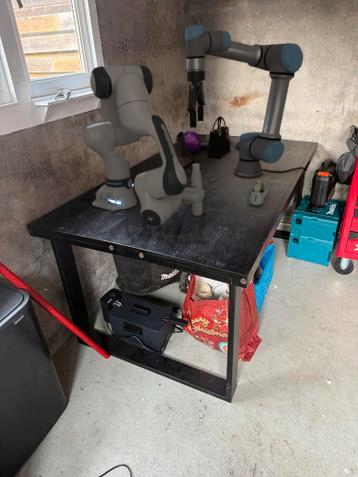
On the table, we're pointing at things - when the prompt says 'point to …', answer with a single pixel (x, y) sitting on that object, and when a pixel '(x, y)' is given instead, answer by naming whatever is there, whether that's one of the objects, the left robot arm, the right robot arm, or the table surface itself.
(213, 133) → the handbag
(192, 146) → the decorative orb
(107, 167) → the left robot arm
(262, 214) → the table surface
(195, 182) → the bottle
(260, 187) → the ballet flat
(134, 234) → the table surface
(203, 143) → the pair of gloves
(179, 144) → the boot
